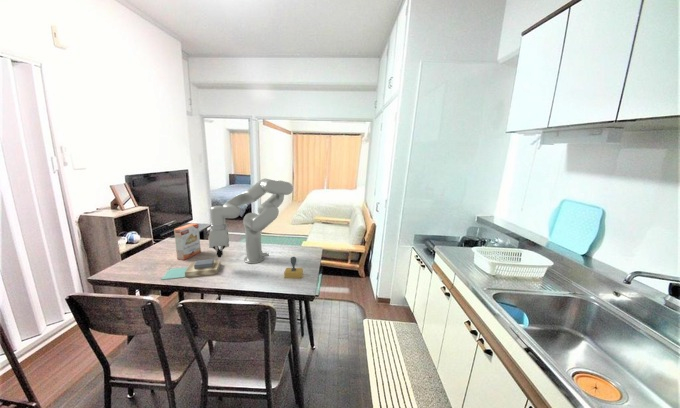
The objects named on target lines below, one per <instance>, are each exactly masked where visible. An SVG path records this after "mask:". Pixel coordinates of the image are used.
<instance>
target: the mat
mask: <svg viewBox="0 0 680 408" xmlns="http://www.w3.org/2000/svg"><path fill="white" fill-rule="evenodd" d="M188 267H189V266H186V267H176V268H169V270H168V271H166V273H165V274H164V276H163V277H162V278H161V279H160V280H161V281H162V280H165V281H166V280H172V279H173V280H175V279H181V278H186V277H185V272H186V270H187V269H188Z"/></svg>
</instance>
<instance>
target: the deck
mask: <svg viewBox="0 0 680 408" xmlns="http://www.w3.org/2000/svg"><path fill="white" fill-rule="evenodd" d="M195 263H196V261H195V262H191V263H190V264H189V266H187V267H188V269H187V270H186V272H185V277H184V278H190V277H199V276H202V277H203V276H210V275H217V274H218V272H219V270H220V268H221V260H220V259H217V260H214V264H213V266H212V267H210V268H200V269H194V264H195Z"/></svg>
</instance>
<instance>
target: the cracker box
mask: <svg viewBox="0 0 680 408" xmlns="http://www.w3.org/2000/svg"><path fill="white" fill-rule="evenodd" d="M173 233H174V241H175V242H174V243H175V250H176V251H175V252H176V258H177V260H181V261H185V260H187V259H189V258H192V257H193V256H195V255H197V254H200V253H201V251H202V250H201V238H200V228H199V223H193V222H191V223H188V224H185V225H181V226H179V227H176V228H174V229H173Z"/></svg>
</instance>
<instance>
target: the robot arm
mask: <svg viewBox="0 0 680 408" xmlns="http://www.w3.org/2000/svg"><path fill="white" fill-rule="evenodd" d="M293 191H294V187H293V184H292V183H291V182H289V181H284V180H274V179H269V178H262V179H260V180H259V181H258V182H256V183H255V184H254V185H252V186H251V187H249V188H248V189H247V190H244V191H243V192H241V193H239V194H237V195H235V196H233V197H232V198H230V199H228V200H227V201H226V202H224V203H223V204H222V205H213V206H211V207H210V209H209V212H210V227H211V228H210V230H209V234H208V236H209V237H208V248H210V249H213V250H215V252H216V256H217V258H221V257H222V256H223V255H224V251H223V250H224V249H225V248H228V247H230V238H229V236H230V235H229V231H228V227H229V224H227V223H226V219H236V218H238V217H239V216H240V215H241V209H240V207H242V206H243V205H246V204H251V203H255V202H257V201H258V200H259V199H260V198H262V197H263V196H264V195H266V194H267V193H268V194H271V196H270V197H268V198H267V199H266V200H265V201H264V202H262V203H261V204H260V205H258V207H257V213H258V214H257V213H254V212H248V213H246V214H245V216H244V217H243V221H242V223H243V227H244V235H245V237H244V238H245V250H246V251H245V252H246V253H245V254H246V256H245V257H244V258H243V260H244V262H245V263H246V264H258V263H259V264H260V262H262V261H264V260H265V257H270V255H269V254H270V253H268V252H263V250H262V233H261V232H262V231H264V230H265V229H266V228H267V227H268V226H270V225H271V223H273V222H274V221H275V220H276V219H277V218H278V217H279V212H280V211H279V207H280V206H281V205H282V204H283V202H284V200H285V196H289V195H291V194H292V193H293ZM219 247H220V248H219Z"/></svg>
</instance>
